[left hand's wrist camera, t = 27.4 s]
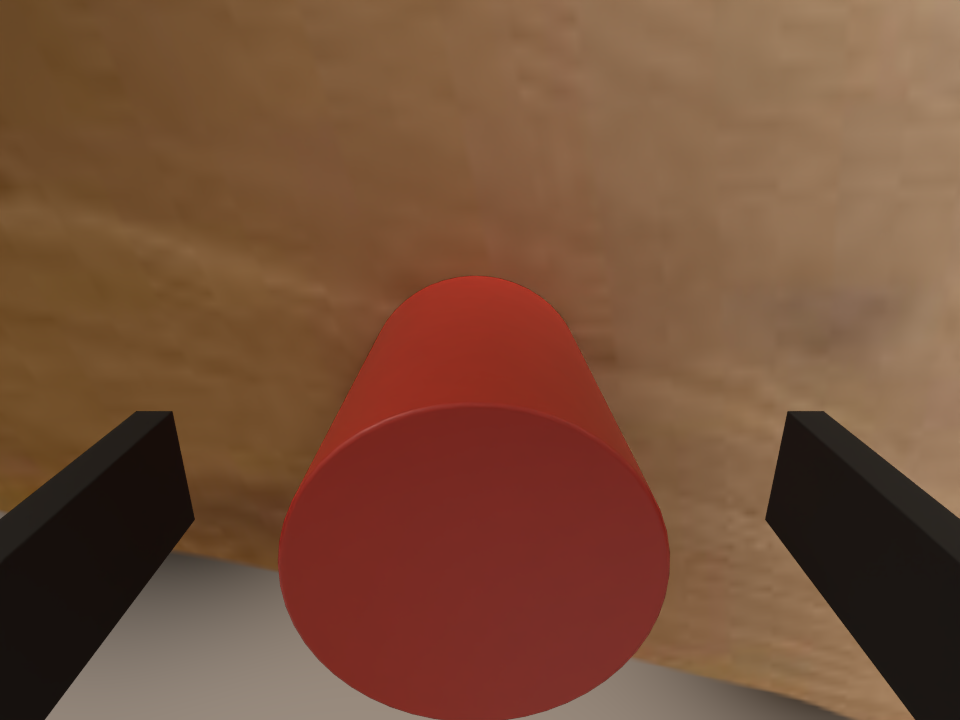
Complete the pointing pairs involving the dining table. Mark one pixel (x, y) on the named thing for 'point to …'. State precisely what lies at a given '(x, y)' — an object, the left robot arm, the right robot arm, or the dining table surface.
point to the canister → (474, 516)
